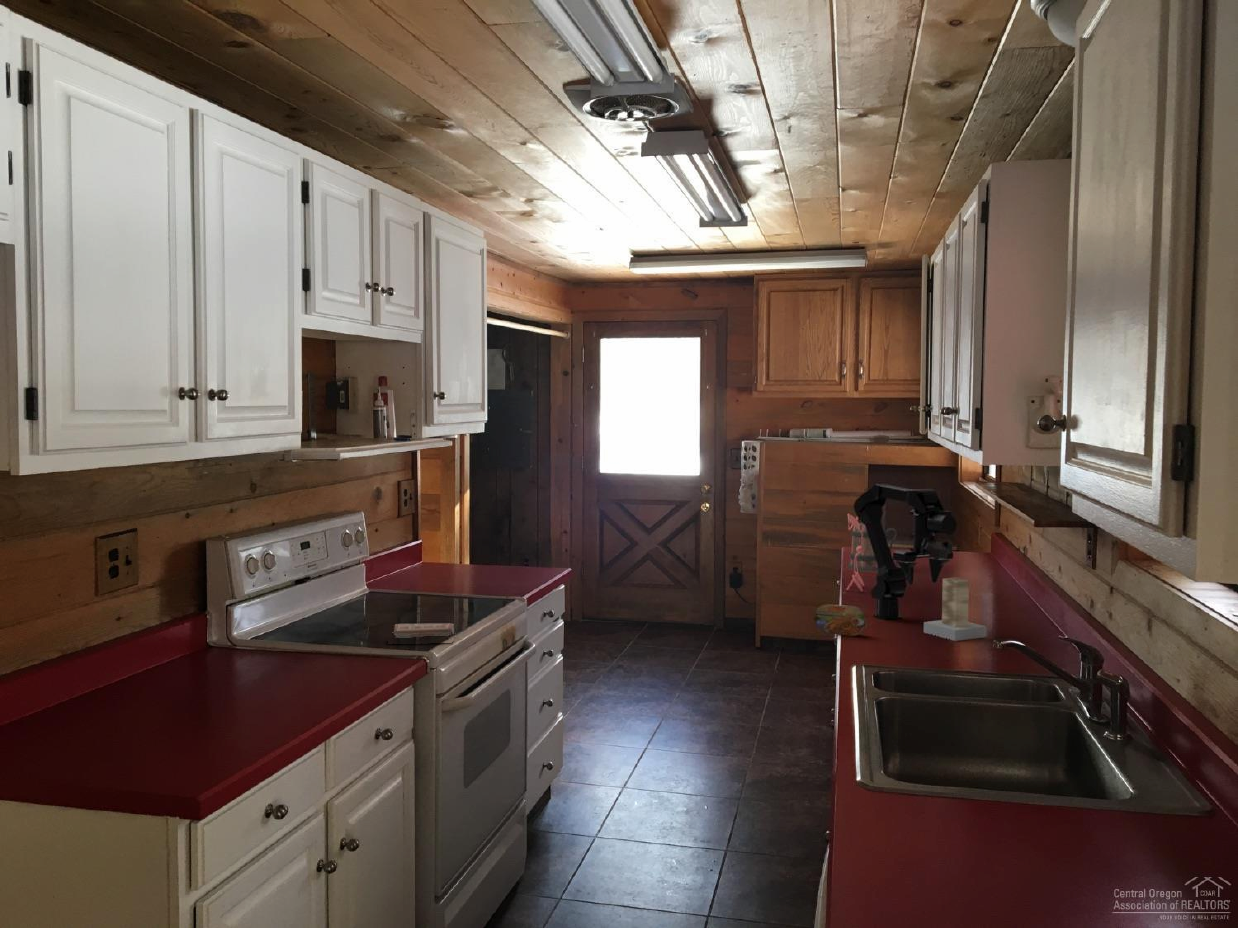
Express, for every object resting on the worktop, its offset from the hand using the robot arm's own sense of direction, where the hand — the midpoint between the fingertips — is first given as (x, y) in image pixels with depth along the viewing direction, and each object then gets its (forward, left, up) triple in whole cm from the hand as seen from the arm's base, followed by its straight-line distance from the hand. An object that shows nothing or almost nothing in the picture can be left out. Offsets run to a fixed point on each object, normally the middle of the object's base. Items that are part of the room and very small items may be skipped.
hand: (922, 583), depth 282 cm
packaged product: (-45, -139, -14) cm, 147 cm away
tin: (-3, -28, -13) cm, 31 cm away
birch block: (+12, +1, -10) cm, 16 cm away
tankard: (-92, +62, -13) cm, 112 cm away
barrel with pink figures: (-56, +27, -13) cm, 63 cm away
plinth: (+12, +1, -13) cm, 18 cm away
